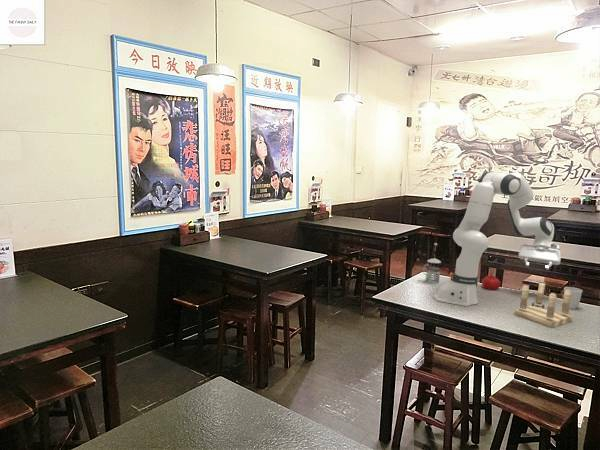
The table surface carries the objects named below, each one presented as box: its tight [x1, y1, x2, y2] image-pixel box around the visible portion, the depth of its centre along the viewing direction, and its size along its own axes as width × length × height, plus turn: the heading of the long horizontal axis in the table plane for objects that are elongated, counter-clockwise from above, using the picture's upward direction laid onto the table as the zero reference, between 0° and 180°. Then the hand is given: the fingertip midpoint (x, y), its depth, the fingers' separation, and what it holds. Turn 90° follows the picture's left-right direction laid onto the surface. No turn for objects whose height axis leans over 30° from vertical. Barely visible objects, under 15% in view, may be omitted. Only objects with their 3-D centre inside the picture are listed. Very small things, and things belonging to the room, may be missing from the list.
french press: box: [422, 242, 442, 287], centre depth 254 cm, size 10×12×25 cm
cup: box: [563, 286, 583, 310], centre depth 220 cm, size 8×8×10 cm
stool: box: [513, 284, 574, 329], centre depth 203 cm, size 18×18×16 cm
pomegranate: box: [481, 272, 501, 291], centre depth 249 cm, size 10×10×9 cm
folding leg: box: [534, 280, 547, 305], centre depth 215 cm, size 3×3×12 cm
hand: (536, 267), depth 227 cm, fingers open, 8 cm apart
